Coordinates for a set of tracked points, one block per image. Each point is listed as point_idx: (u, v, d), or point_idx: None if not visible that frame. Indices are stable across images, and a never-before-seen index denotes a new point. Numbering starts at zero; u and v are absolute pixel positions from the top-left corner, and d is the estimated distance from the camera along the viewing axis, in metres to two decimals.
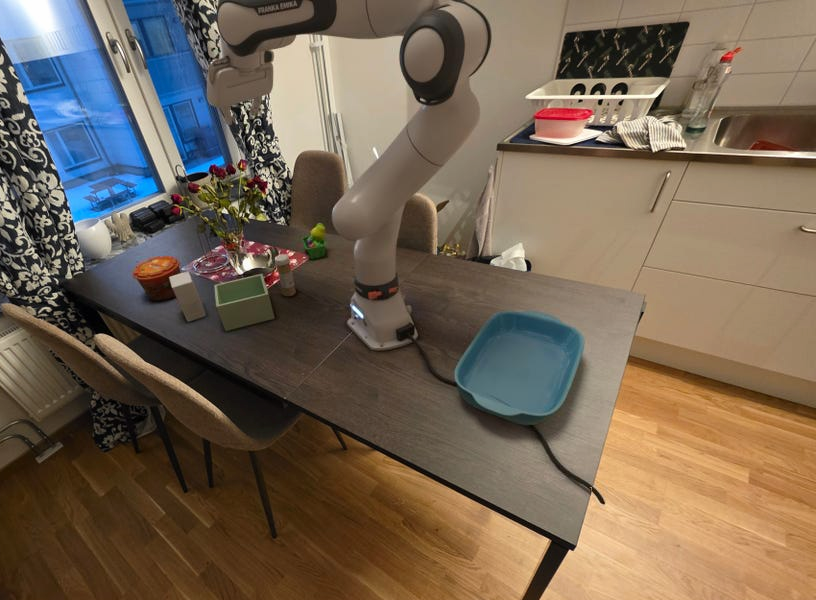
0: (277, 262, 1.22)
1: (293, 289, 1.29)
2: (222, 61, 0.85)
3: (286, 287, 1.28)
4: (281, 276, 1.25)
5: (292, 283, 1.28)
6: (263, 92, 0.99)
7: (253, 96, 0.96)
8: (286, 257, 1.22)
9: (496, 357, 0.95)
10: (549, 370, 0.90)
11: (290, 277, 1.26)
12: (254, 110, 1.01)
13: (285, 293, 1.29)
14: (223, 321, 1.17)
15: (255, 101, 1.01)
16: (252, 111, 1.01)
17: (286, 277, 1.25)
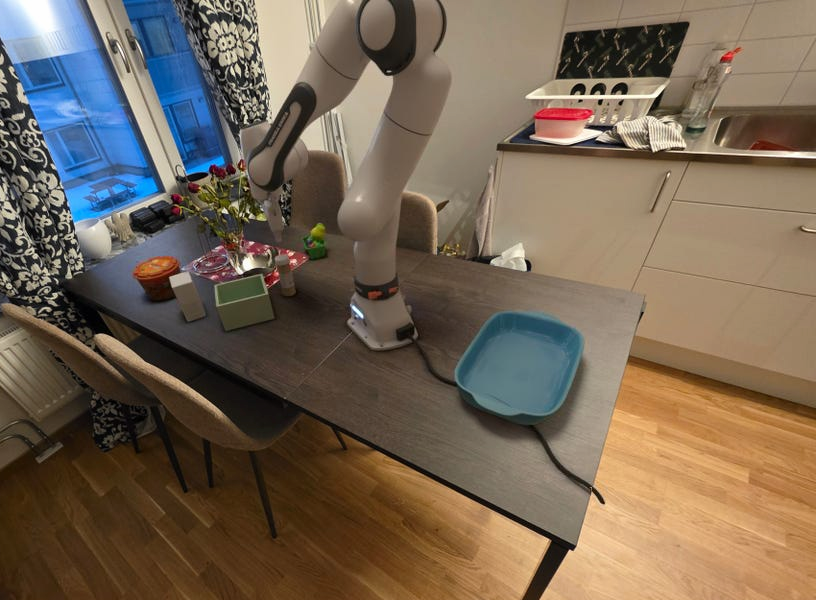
0: (277, 262, 1.22)
1: (293, 289, 1.29)
2: (272, 197, 1.04)
3: (286, 287, 1.28)
4: (281, 276, 1.25)
5: (292, 283, 1.28)
6: None
7: None
8: (286, 257, 1.22)
9: (496, 357, 0.95)
10: (549, 370, 0.90)
11: (290, 277, 1.26)
12: None
13: (285, 293, 1.29)
14: (223, 321, 1.17)
15: None
16: None
17: (286, 277, 1.25)
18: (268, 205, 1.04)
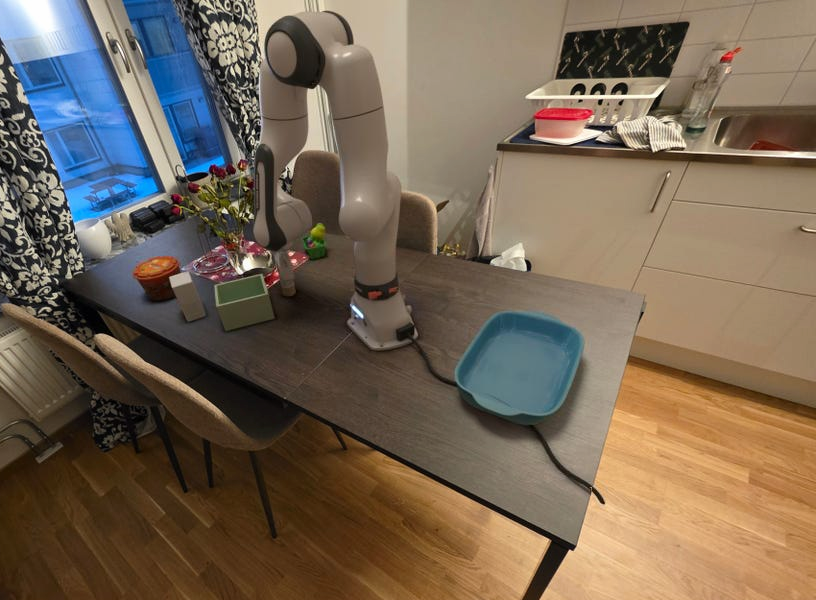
0: None
1: (293, 289, 1.29)
2: (283, 250, 1.15)
3: (286, 288, 1.28)
4: (281, 276, 1.25)
5: (292, 283, 1.28)
6: None
7: None
8: None
9: (496, 357, 0.95)
10: (549, 370, 0.90)
11: None
12: None
13: (285, 293, 1.29)
14: (223, 321, 1.17)
15: None
16: None
17: None
18: (280, 258, 1.14)
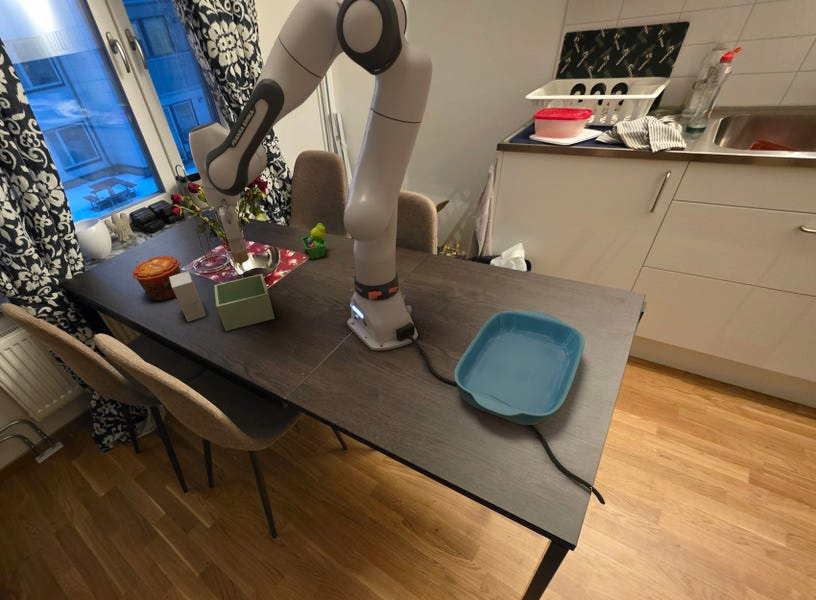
0: None
1: (245, 255, 1.12)
2: (226, 204, 0.97)
3: (236, 252, 1.10)
4: None
5: (243, 247, 1.11)
6: None
7: None
8: None
9: (496, 357, 0.95)
10: (549, 370, 0.90)
11: (240, 240, 1.09)
12: None
13: (236, 259, 1.12)
14: (223, 321, 1.17)
15: None
16: None
17: None
18: (222, 213, 0.97)
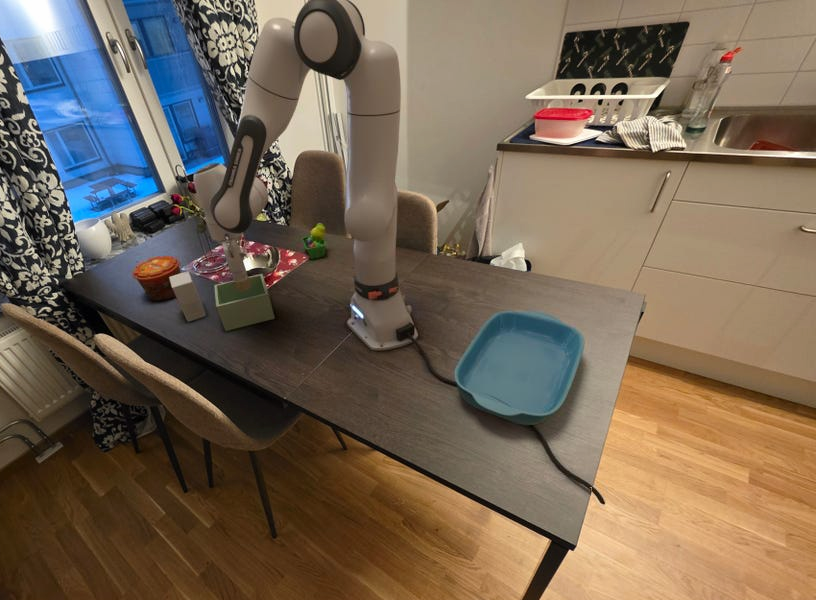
0: None
1: (247, 283, 1.17)
2: (229, 239, 1.02)
3: (238, 282, 1.15)
4: None
5: (245, 277, 1.15)
6: None
7: None
8: None
9: (496, 357, 0.95)
10: (549, 370, 0.90)
11: None
12: None
13: (238, 288, 1.17)
14: (223, 321, 1.17)
15: None
16: None
17: None
18: (225, 248, 1.02)
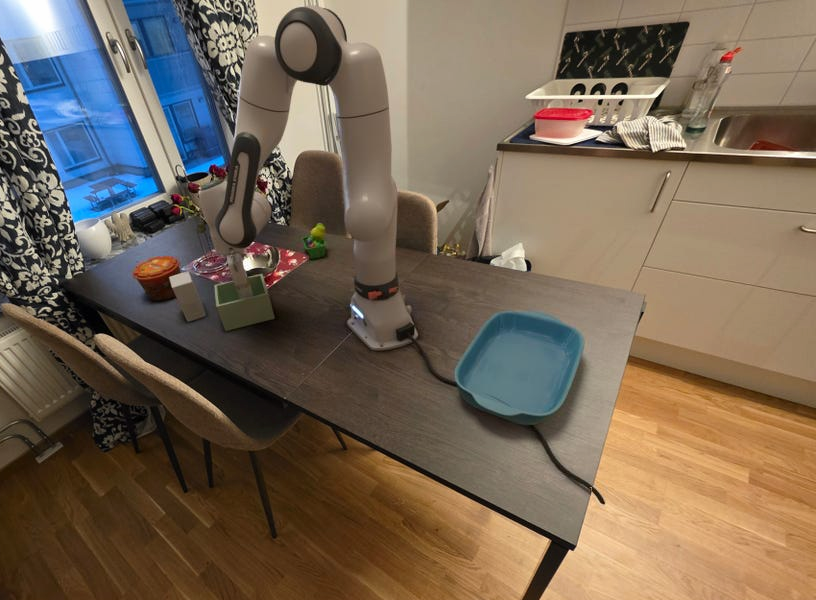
0: None
1: None
2: (233, 252, 1.05)
3: None
4: (238, 292, 1.18)
5: None
6: (241, 258, 1.19)
7: None
8: None
9: (496, 357, 0.95)
10: (549, 370, 0.90)
11: (249, 293, 1.19)
12: None
13: None
14: (223, 321, 1.17)
15: None
16: None
17: (244, 293, 1.18)
18: (229, 261, 1.04)
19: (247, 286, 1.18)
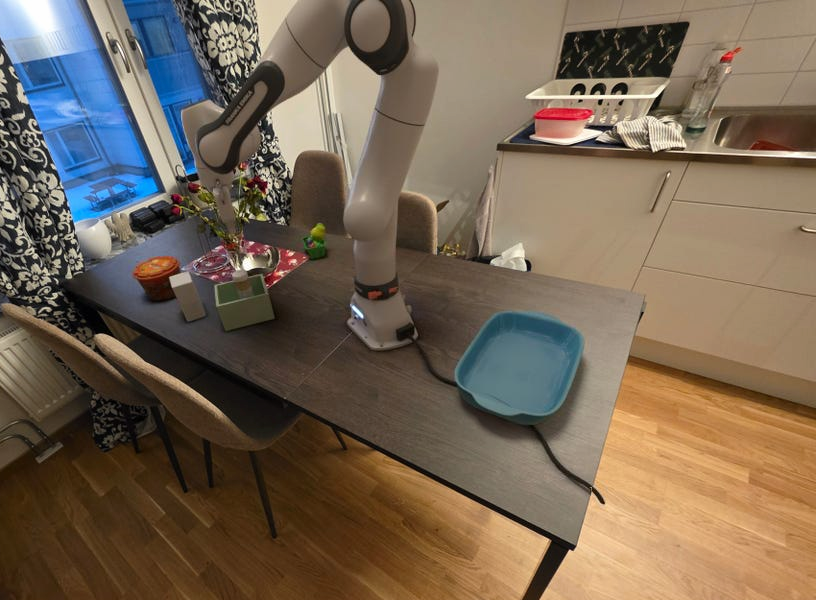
0: (234, 278, 1.15)
1: None
2: (220, 183, 0.96)
3: None
4: (239, 293, 1.18)
5: None
6: None
7: None
8: (244, 273, 1.15)
9: (496, 357, 0.95)
10: (549, 370, 0.90)
11: (250, 294, 1.19)
12: None
13: None
14: (223, 321, 1.17)
15: None
16: None
17: (245, 294, 1.18)
18: (216, 193, 0.95)
19: (248, 287, 1.18)
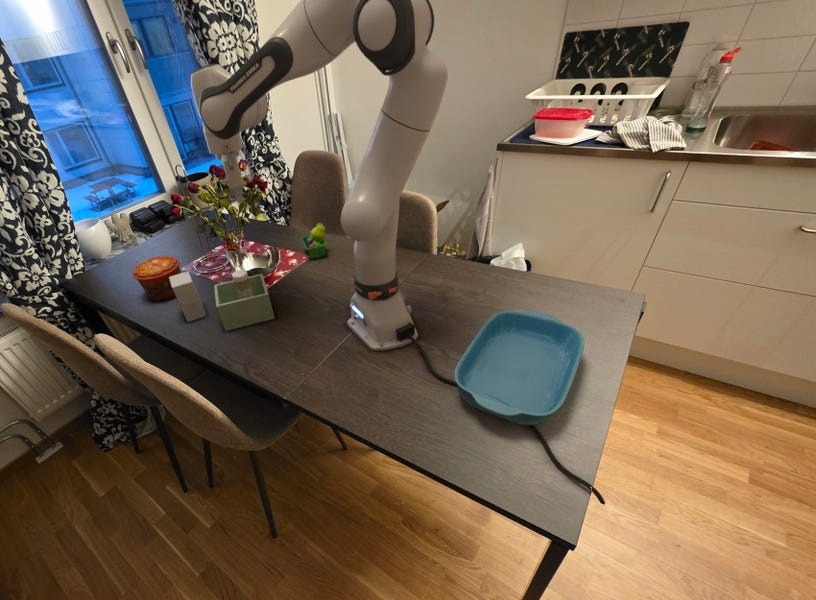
0: (234, 278, 1.15)
1: None
2: (228, 150, 0.97)
3: None
4: (239, 293, 1.18)
5: None
6: None
7: None
8: (244, 273, 1.15)
9: (496, 357, 0.95)
10: (549, 370, 0.90)
11: (250, 294, 1.19)
12: None
13: None
14: (223, 321, 1.17)
15: None
16: None
17: (245, 294, 1.18)
18: (224, 158, 0.96)
19: (248, 287, 1.18)
